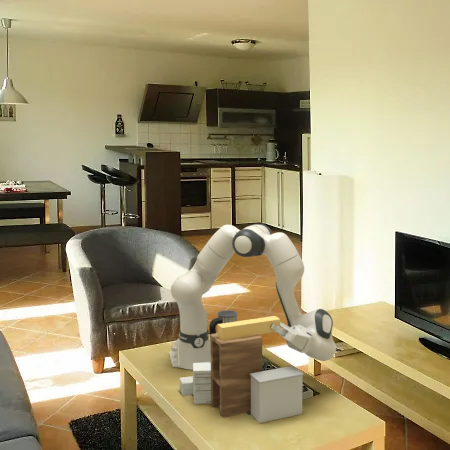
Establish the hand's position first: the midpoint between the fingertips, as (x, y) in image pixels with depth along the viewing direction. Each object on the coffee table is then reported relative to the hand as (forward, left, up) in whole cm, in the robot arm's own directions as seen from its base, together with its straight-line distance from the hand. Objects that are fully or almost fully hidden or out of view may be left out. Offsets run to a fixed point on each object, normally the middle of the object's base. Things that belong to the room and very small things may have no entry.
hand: (268, 323), depth 207 cm
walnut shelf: (0, -12, -29) cm, 31 cm away
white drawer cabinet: (-10, -21, -29) cm, 37 cm away
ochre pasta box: (0, -7, -3) cm, 8 cm away
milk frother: (-51, +7, -29) cm, 59 cm away
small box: (-18, -24, -29) cm, 42 cm away
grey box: (+10, -2, -29) cm, 30 cm away
